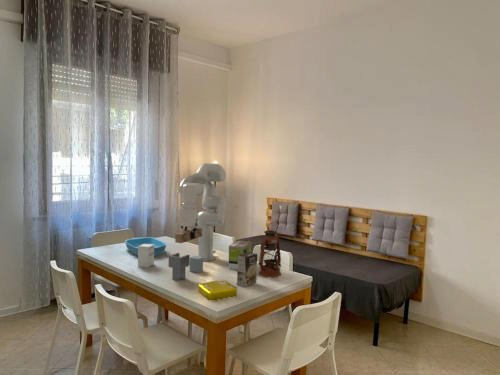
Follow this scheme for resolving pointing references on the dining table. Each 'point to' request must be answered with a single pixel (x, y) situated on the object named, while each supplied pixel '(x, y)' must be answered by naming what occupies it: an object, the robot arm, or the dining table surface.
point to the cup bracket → (178, 265)
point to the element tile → (217, 290)
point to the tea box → (237, 252)
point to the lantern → (271, 264)
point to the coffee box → (247, 269)
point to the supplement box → (145, 255)
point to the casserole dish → (135, 242)
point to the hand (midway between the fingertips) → (189, 238)
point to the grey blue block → (196, 264)
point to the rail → (187, 235)
